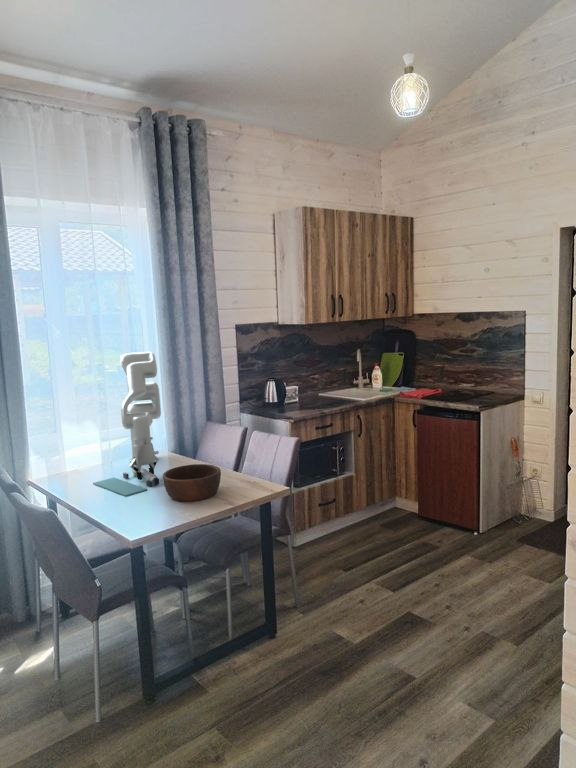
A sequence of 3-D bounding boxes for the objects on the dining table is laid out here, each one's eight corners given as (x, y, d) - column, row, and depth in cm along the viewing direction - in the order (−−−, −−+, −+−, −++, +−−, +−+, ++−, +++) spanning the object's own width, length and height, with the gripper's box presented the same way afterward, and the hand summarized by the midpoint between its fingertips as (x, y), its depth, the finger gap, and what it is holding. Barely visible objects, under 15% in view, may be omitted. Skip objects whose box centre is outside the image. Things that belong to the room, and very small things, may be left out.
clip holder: (142, 472, 293) (141, 468, 292) (169, 481, 276) (168, 476, 276) (123, 477, 285) (122, 473, 285) (150, 487, 269) (149, 481, 268)
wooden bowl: (214, 482, 271) (212, 461, 270) (228, 498, 248) (227, 474, 247) (160, 491, 263) (158, 468, 261) (169, 508, 239) (167, 484, 238)
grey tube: (150, 478, 268) (129, 461, 288) (151, 492, 270) (130, 473, 289) (160, 476, 271) (140, 458, 291) (161, 489, 273) (140, 471, 292)
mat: (114, 478, 285) (114, 477, 285) (147, 490, 264) (147, 488, 264) (93, 484, 278) (92, 482, 278) (125, 496, 256) (125, 495, 256)
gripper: (154, 436, 287) (156, 472, 289) (122, 443, 275) (125, 481, 277) (162, 438, 281) (165, 475, 284) (130, 446, 269) (133, 483, 272)
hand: (145, 477), depth 281 cm, fingers open, 5 cm apart
